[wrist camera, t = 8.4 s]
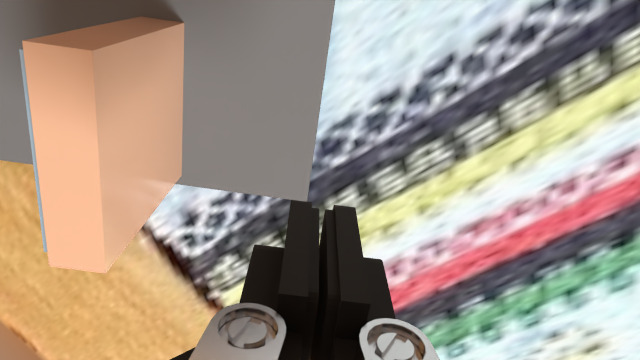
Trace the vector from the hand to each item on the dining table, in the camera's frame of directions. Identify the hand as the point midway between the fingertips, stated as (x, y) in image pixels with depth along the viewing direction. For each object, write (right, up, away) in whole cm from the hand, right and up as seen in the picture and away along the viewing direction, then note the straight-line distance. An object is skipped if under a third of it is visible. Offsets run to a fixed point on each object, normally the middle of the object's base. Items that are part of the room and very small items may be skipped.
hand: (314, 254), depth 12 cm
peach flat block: (-7, +5, +9) cm, 12 cm away
